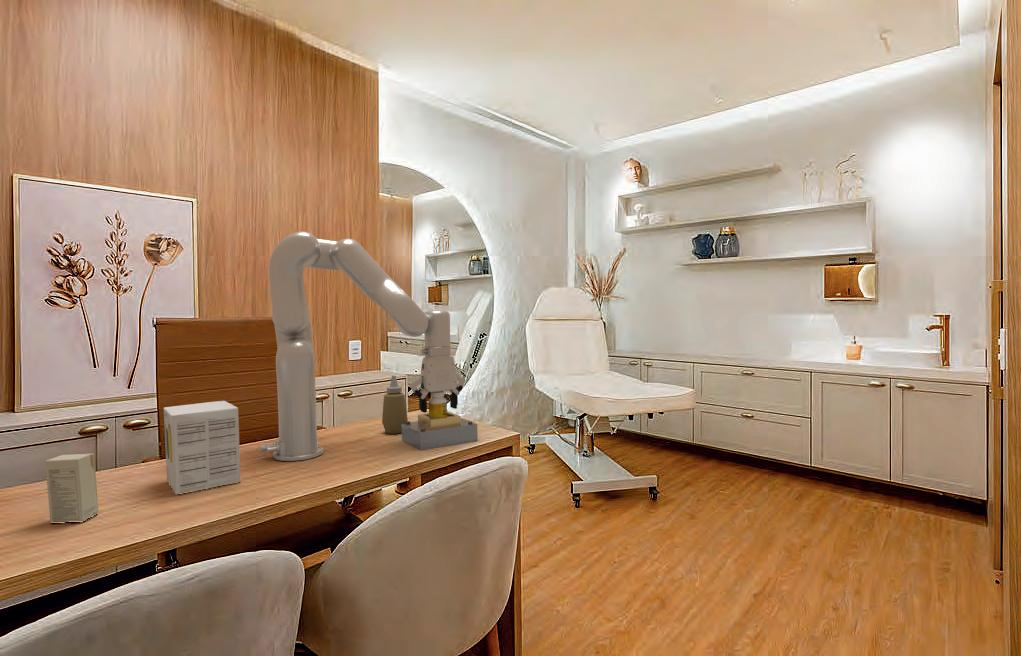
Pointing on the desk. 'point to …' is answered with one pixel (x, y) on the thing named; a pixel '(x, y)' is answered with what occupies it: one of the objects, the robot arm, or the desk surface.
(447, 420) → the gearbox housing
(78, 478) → the skincare box
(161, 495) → the desk surface
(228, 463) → the supplement box
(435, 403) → the supplement bottle
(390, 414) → the squeeze bottle
